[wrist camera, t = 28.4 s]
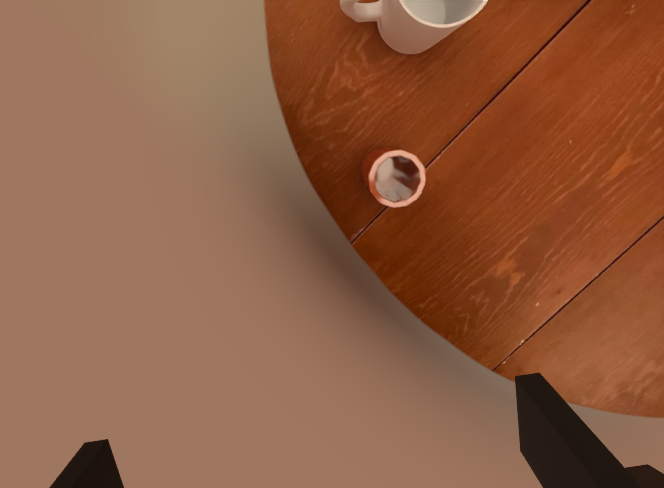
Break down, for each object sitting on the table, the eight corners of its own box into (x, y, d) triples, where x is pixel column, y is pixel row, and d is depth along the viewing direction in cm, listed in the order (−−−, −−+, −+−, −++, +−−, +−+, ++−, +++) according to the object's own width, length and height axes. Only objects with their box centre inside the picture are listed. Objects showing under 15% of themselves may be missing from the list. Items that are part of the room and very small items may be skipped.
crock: (357, 151, 43) (364, 155, 35) (404, 143, 43) (422, 145, 35) (364, 198, 44) (373, 211, 36) (410, 190, 44) (428, 202, 36)
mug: (447, -27, 40) (498, -94, 28) (449, 54, 41) (497, 23, 29) (334, -17, 40) (338, -80, 28) (340, 63, 41) (346, 36, 30)
